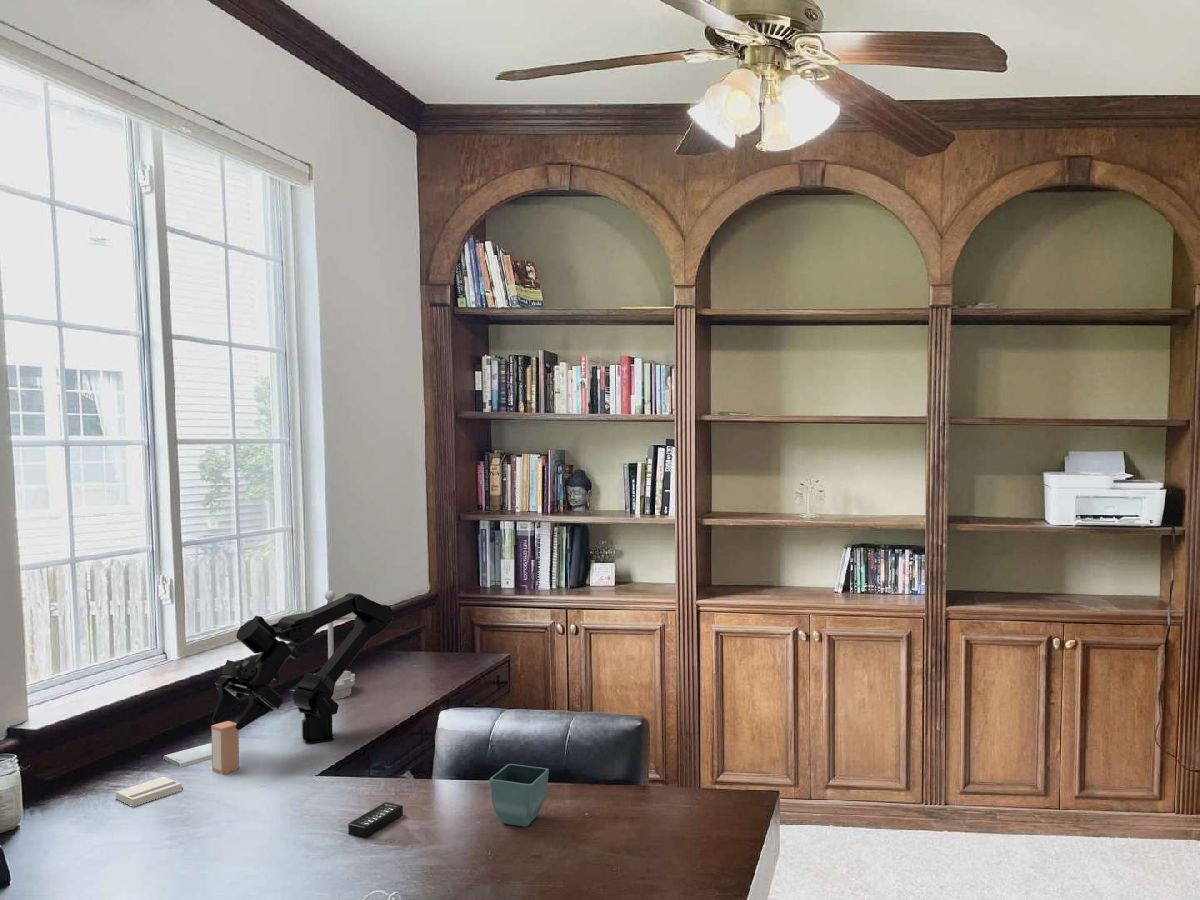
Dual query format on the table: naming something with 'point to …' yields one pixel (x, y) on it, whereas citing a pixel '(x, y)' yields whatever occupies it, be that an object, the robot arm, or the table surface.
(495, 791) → the flower pot
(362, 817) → the multiport hub
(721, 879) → the table surface
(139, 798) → the striped cream block
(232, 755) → the stub
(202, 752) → the hard drive
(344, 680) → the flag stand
